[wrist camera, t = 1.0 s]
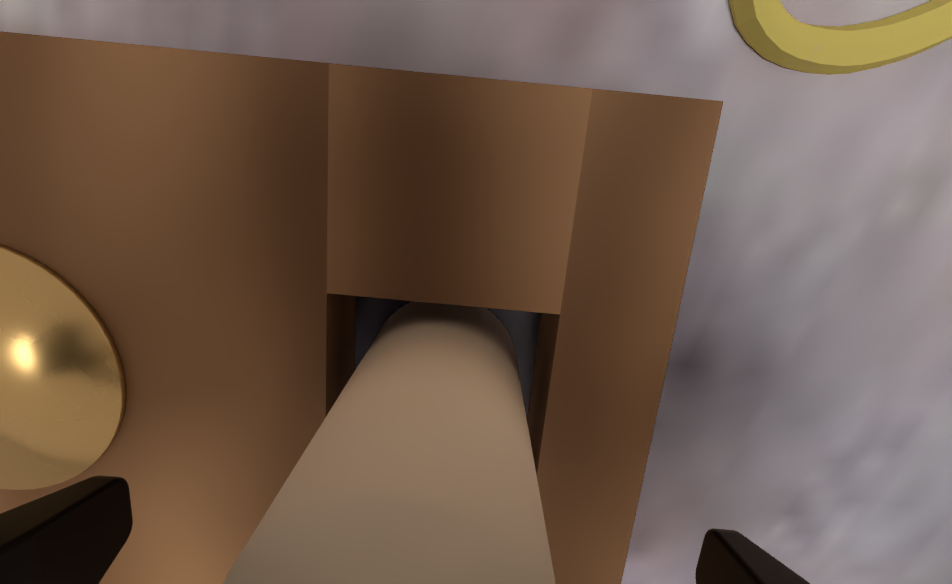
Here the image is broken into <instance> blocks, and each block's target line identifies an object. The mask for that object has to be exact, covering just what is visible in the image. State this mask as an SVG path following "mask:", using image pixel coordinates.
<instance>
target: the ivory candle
mask: <svg viewBox="0 0 952 584" xmlns="http://www.w3.org/2000/svg"><path fill="white" fill-rule="evenodd" d="M223 584H556V583H555V577H554V572H553V566H552V560H551V555H550V549H549V543H548V538H547V532H546V526H545V521H544V515H543V509H542V503H541V498H540V492H539V486H538V481H537V475H536V469H535V464H534V458H533V452H532V447H531V441H530V435H529V430H528V424H527V418H526V413H525V407H524V401H523V396H522V390H521V384H520V378H519V373H518V367H517V361H516V356H515V350H514V346H513V343H512V340H511V338H510V336H509V334H508V332H507V330H506V328H505V327H504V325H503V324H502V323H501V322H500V320H499V319H498V318H497V317H496V316H495V315H494V314H493V313H491V312H490V311H489V310H488V309H486V308H483V307H473V306H462V305H451V304H440V303H429V302H418V301H412V302H410V303H408V304H406V305H404V306H403V307H401V308H400V309H398V310H397V311H396V312H395V313H394V314H392V315H391V316H390V318H389V319H388V320H387V321H386V322H385V324H384V325H383V327H382V328H381V330H380V331H379V333H378V335H377V336H376V338H375V339H374V341H373V343H372V344H371V346H370V347H369V349H368V351H367V352H366V354H365V355H364V357H363V359H362V360H361V362H360V363H359V365H358V367H357V368H356V370H355V371H354V373H353V375H352V376H351V378H350V379H349V381H348V382H347V384H346V386H345V387H344V389H343V390H342V392H341V394H340V395H339V397H338V398H337V400H336V402H335V403H334V405H333V406H332V408H331V410H330V411H329V413H328V414H327V416H326V418H325V419H324V421H323V422H322V424H321V426H320V427H319V429H318V430H317V432H316V434H315V435H314V437H313V438H312V440H311V442H310V443H309V445H308V446H307V448H306V450H305V451H304V453H303V454H302V456H301V458H300V459H299V461H298V462H297V464H296V466H295V467H294V469H293V470H292V472H291V474H290V475H289V477H288V478H287V480H286V481H285V483H284V485H283V486H282V488H281V489H280V491H279V493H278V494H277V496H276V497H275V499H274V501H273V502H272V504H271V505H270V507H269V509H268V510H267V512H266V513H265V515H264V517H263V518H262V520H261V521H260V523H259V525H258V526H257V528H256V529H255V531H254V533H253V534H252V536H251V537H250V539H249V541H248V542H247V544H246V545H245V547H244V549H243V550H242V552H241V553H240V555H239V557H238V558H237V560H236V561H235V563H234V565H233V566H232V568H231V569H230V571H229V572H228V574H227V576H226V579H225V581H224V583H223Z"/></svg>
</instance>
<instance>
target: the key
mask: <svg viewBox="0 0 952 584" xmlns="http://www.w3.org/2000/svg"><path fill="white" fill-rule="evenodd" d="M729 5H730V9H731V13H732V17H733V21H734V25H735V27H736V28H737V30H738V31H739V33H740V34H741V36H742V37H743V39H744V40H745V42H746V43H747V44H748V45H749V46H751V47H752V48H753V49H754V50H755V51H756V52H757V53H758V54H759V55H761V56H762V57H763V58H765V59H767V60H769V61H771V62H773V63H775V64H778V65H780V66H782V67H786V68H790V69H794V70H798V71H802V72H807V73H817V74H828V75H831V74H844V73H852V72H857V71H862V70H866V69H871V68H876V67H880V66H883V65H886V64H890V63H893V62H897V61H900V60H903V59H906V58H908V57H911V56H913V55H916V54H918V53H920V52H923V51H925V50H928V49H930V48H932V47H934V46H936V45H938V44H941V43H943V42H945V41H947V40H949V39H951V38H952V0H931V1H929V2H927V3H925V4H922V5H920V6H918V7H915V8H913V9H910V10H908V11H905V12H903V13H900V14H896V15H893V16H890V17H887V18H884V19H881V20H878V21H872V22H866V23H860V24H854V25H847V26H840V27H837V26H818V25H810V24H804V23H801V22H798V21H797V20H796V19H795V18H793V17H792V16H791V15H790V14H789V13H788V12H786V10H785V9H784V7H783V5H782V4H781V2H780V0H729Z"/></svg>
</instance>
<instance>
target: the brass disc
mask: <svg viewBox="0 0 952 584" xmlns="http://www.w3.org/2000/svg"><path fill="white" fill-rule="evenodd" d="M126 403H127V384H126V377H125V370H124V366H123V363H122V359H121V356H120V353H119V350H118V348H117V346H116V343H115V341H114V338H113V337H112V335H111V333H110V331H109V329H108V328H107V326H106V324H105V322H104V321H103V320H102V318H101V317H100V315H99V314H98V313H97V311H96V310H95V308H94V307H93V306H92V305H91V304H90V303H89V301H88V300H87V299H86V298H85V297H84V296H83V295H82V294H81V293H80V292H79V291H78V290H77V289H76V288H75V287H74V286H73V285H72V284H71V283H69V282H68V281H67V280H66V279H65V278H64V277H62V276H61V275H60V274H58V273H57V272H55V271H54V270H53V269H51V268H50V267H48V266H47V265H45V264H43V263H42V262H40V261H38V260H36V259H35V258H33V257H31V256H29V255H27V254H25V253H22V252H20V251H18V250H16V249H13V248H11V247H8V246H5V245H1V244H0V489H9V490H29V489H38V488H44V487H49V486H52V485H56V484H59V483H62V482H64V481H67V480H69V479H71V478H73V477H75V476H77V475H78V474H80V473H81V472H83V471H84V470H86V469H87V468H89V467H90V466H91V465H93V464H94V463H95V462H96V461H97V460H98V459H99V458H100V457H102V456H103V455H104V454H105V453H106V451H107V450H108V449H109V447H110V446H111V445H112V443H113V442H114V440H115V438H116V436H117V435H118V433H119V431H120V428H121V425H122V422H123V419H124V416H125V409H126Z"/></svg>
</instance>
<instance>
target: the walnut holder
mask: <svg viewBox="0 0 952 584" xmlns="http://www.w3.org/2000/svg"><path fill="white" fill-rule="evenodd" d="M722 105H723V101H713V100H703V99H693V98H682V97H672V96H662V95H651V94H641V93H631V92H620V91H610V90H600V89H589V88H579V87H569V86H558V85H548V84H537V83H527V82H517V81H506V80H496V79H486V78H475V77H465V76H455V75H444V74H434V73H424V72H413V71H403V70H392V69H382V68H372V67H361V66H351V65H341V64H330V63H320V62H310V61H299V60H289V59H279V58H268V57H258V56H248V55H237V54H227V53H216V52H206V51H196V50H185V49H175V48H165V47H154V46H144V45H134V44H123V43H113V42H103V41H92V40H82V39H72V38H61V37H51V36H40V35H30V34H20V33H9V32H0V244H1V245H5V246H8V247H11V248H13V249H16V250H18V251H20V252H22V253H25V254H27V255H29V256H31V257H33V258H35V259H36V260H38V261H40V262H42V263H43V264H45V265H47V266H48V267H50V268H51V269H53V270H54V271H55V272H57V273H58V274H60V275H61V276H62V277H64V278H65V279H66V280H67V281H68V282H69V283H71V284H72V285H73V286H74V287H75V288H76V289H77V290H78V291H79V292H80V293H81V294H82V295H83V296H84V297H85V298H86V299H87V300H88V301H89V303H90V304H91V305H92V306H93V307H94V308H95V310H96V311H97V313H98V314H99V315H100V317H101V318H102V320H103V321H104V322H105V324H106V326H107V328H108V329H109V331H110V333H111V335H112V337H113V338H114V341H115V343H116V346H117V348H118V350H119V353H120V356H121V359H122V363H123V366H124V370H125V377H126V384H127V403H126V409H125V416H124V419H123V422H122V425H121V428H120V431H119V433H118V435H117V436H116V438H115V440H114V442H113V443H112V445H111V446H110V447H109V449H108V450H107V451H106V453H105V454H104V455H103V456H102V457H100V458H99V459H98V460H97V461H96V462H95V463H94V464H93V465H91V466H90V467H89V468H87V469H86V470H84V471H83V472H81V473H80V474H78V475H77V476H75V477H73V478H71V479H69V480H67V481H64V482H62V483H59V484H56V485H52V486H49V487H44V488H38V489H29V490H9V489H0V513H3V512H5V511H8V510H10V509H13V508H15V507H18V506H20V505H23V504H25V503H28V502H30V501H33V500H35V499H38V498H40V497H43V496H45V495H48V494H50V493H53V492H55V491H58V490H60V489H63V488H65V487H68V486H70V485H73V484H75V483H78V482H80V481H83V480H85V479H88V478H90V477H93V476H101V475H102V476H114V477H122V478H124V479H125V480H126V481H127V482H128V485H129V491H130V500H131V508H132V517H133V525H132V530H131V533H130V535H129V538H128V539H127V541H126V543H125V544H124V546H123V547H122V549H121V551H120V552H119V554H118V555H117V557H116V558H115V560H114V561H113V563H112V564H111V566H110V567H109V569H108V570H107V572H106V573H105V575H104V577H103V578H102V580H101V581H100V583H99V584H223V583H224V581H225V579H226V576H227V574H228V572H229V571H230V569H231V568H232V566H233V565H234V563H235V561H236V560H237V558H238V557H239V555H240V553H241V552H242V550H243V549H244V547H245V545H246V544H247V542H248V541H249V539H250V537H251V536H252V534H253V533H254V531H255V529H256V528H257V526H258V525H259V523H260V521H261V520H262V518H263V517H264V515H265V513H266V512H267V510H268V509H269V507H270V505H271V504H272V502H273V501H274V499H275V497H276V496H277V494H278V493H279V491H280V489H281V488H282V486H283V485H284V483H285V481H286V480H287V478H288V477H289V475H290V474H291V472H292V470H293V469H294V467H295V466H296V464H297V462H298V461H299V459H300V458H301V456H302V454H303V453H304V451H305V450H306V448H307V446H308V445H309V443H310V442H311V440H312V438H313V437H314V435H315V434H316V432H317V430H318V429H319V427H320V426H321V424H322V422H323V421H324V419H325V418H326V416H327V414H328V413H329V411H330V410H331V408H332V406H333V405H334V403H335V402H336V400H337V398H338V397H339V395H340V394H341V392H342V390H343V389H344V387H345V386H346V384H347V382H348V381H349V379H350V378H351V376H352V375H353V373H354V362H355V324H356V296H363V297H374V298H385V299H396V300H407V301H418V302H429V303H440V304H451V305H462V306H473V307H483V308H494V309H505V310H516V311H527V312H538V313H541V319H540V327H539V334H538V342H537V349H536V357H535V364H534V372H533V379H532V387H531V394H530V402H529V409H528V417H527V424H528V430H529V435H530V441H531V447H532V452H533V458H534V464H535V469H536V475H537V481H538V486H539V492H540V498H541V503H542V509H543V515H544V521H545V526H546V532H547V538H548V543H549V549H550V555H551V560H552V566H553V572H554V577H555V583H556V584H621V581H622V576H623V571H624V567H625V562H626V557H627V552H628V548H629V543H630V538H631V534H632V529H633V524H634V519H635V515H636V510H637V505H638V501H639V496H640V491H641V487H642V482H643V477H644V472H645V468H646V463H647V458H648V454H649V449H650V444H651V439H652V435H653V430H654V425H655V421H656V416H657V411H658V406H659V402H660V397H661V392H662V388H663V383H664V378H665V374H666V369H667V364H668V359H669V355H670V350H671V345H672V341H673V336H674V331H675V326H676V322H677V317H678V312H679V308H680V303H681V298H682V293H683V289H684V284H685V279H686V275H687V270H688V265H689V261H690V256H691V251H692V246H693V242H694V237H695V232H696V228H697V223H698V218H699V213H700V209H701V204H702V199H703V195H704V190H705V185H706V180H707V176H708V171H709V166H710V162H711V157H712V152H713V148H714V143H715V138H716V133H717V129H718V124H719V119H720V115H721V110H722Z"/></svg>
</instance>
